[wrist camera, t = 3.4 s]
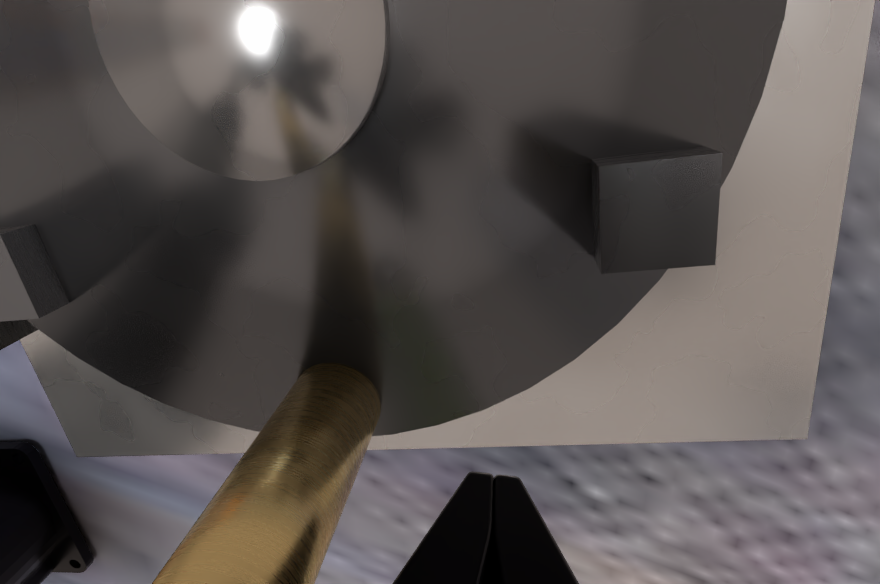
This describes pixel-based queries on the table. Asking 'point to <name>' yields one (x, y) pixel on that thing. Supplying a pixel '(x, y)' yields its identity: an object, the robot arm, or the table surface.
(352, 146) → the crank wheel
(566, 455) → the table surface
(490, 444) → the base plate
